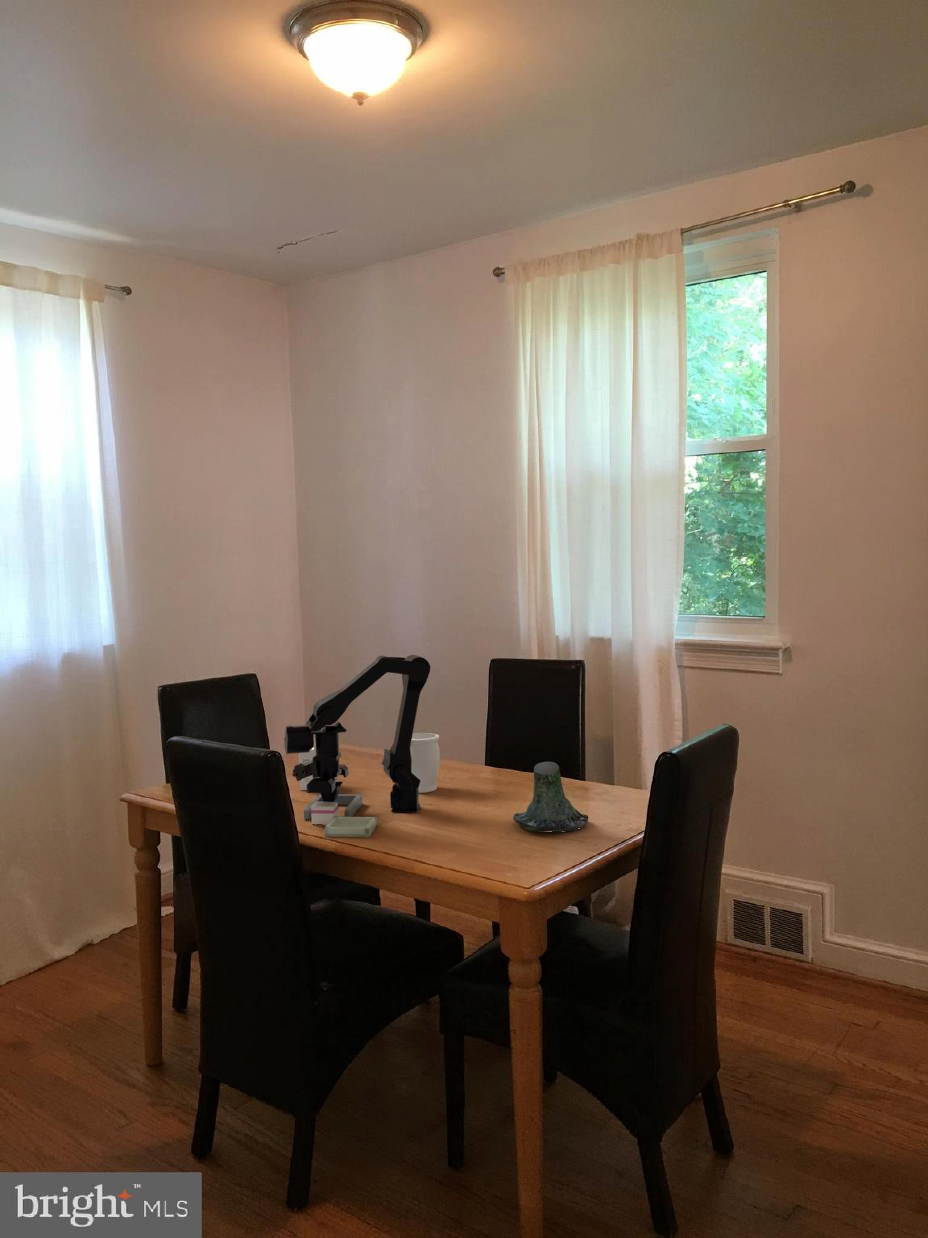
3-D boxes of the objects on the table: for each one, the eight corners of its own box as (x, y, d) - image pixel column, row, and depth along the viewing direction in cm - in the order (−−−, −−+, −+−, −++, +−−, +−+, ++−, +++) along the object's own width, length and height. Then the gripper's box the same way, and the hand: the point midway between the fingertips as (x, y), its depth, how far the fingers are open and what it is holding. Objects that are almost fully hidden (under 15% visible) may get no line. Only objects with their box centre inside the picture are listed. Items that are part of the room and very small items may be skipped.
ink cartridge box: (310, 783, 278) (308, 732, 277) (326, 783, 277) (325, 732, 276) (299, 790, 270) (297, 738, 269) (316, 791, 269) (314, 738, 268)
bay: (362, 804, 254) (362, 794, 254) (349, 820, 239) (349, 810, 239) (319, 803, 256) (319, 794, 255) (304, 820, 241) (303, 810, 240)
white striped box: (338, 819, 240) (337, 801, 240) (333, 825, 236) (333, 806, 236) (316, 819, 241) (315, 801, 241) (311, 824, 237) (311, 806, 236)
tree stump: (597, 817, 240) (597, 751, 234) (579, 861, 222) (578, 791, 217) (525, 808, 246) (523, 743, 240) (502, 850, 228) (499, 781, 223)
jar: (398, 794, 264) (396, 739, 263) (406, 784, 274) (405, 732, 273) (436, 795, 262) (435, 740, 261) (443, 785, 272) (442, 732, 271)
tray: (376, 825, 235) (376, 817, 235) (368, 837, 226) (368, 828, 225) (334, 824, 236) (333, 816, 236) (324, 836, 227) (324, 828, 226)
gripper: (305, 742, 251) (307, 802, 253) (284, 758, 233) (286, 823, 234) (347, 742, 250) (349, 802, 251) (330, 759, 232) (332, 823, 233)
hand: (329, 812), depth 243 cm, fingers closed
